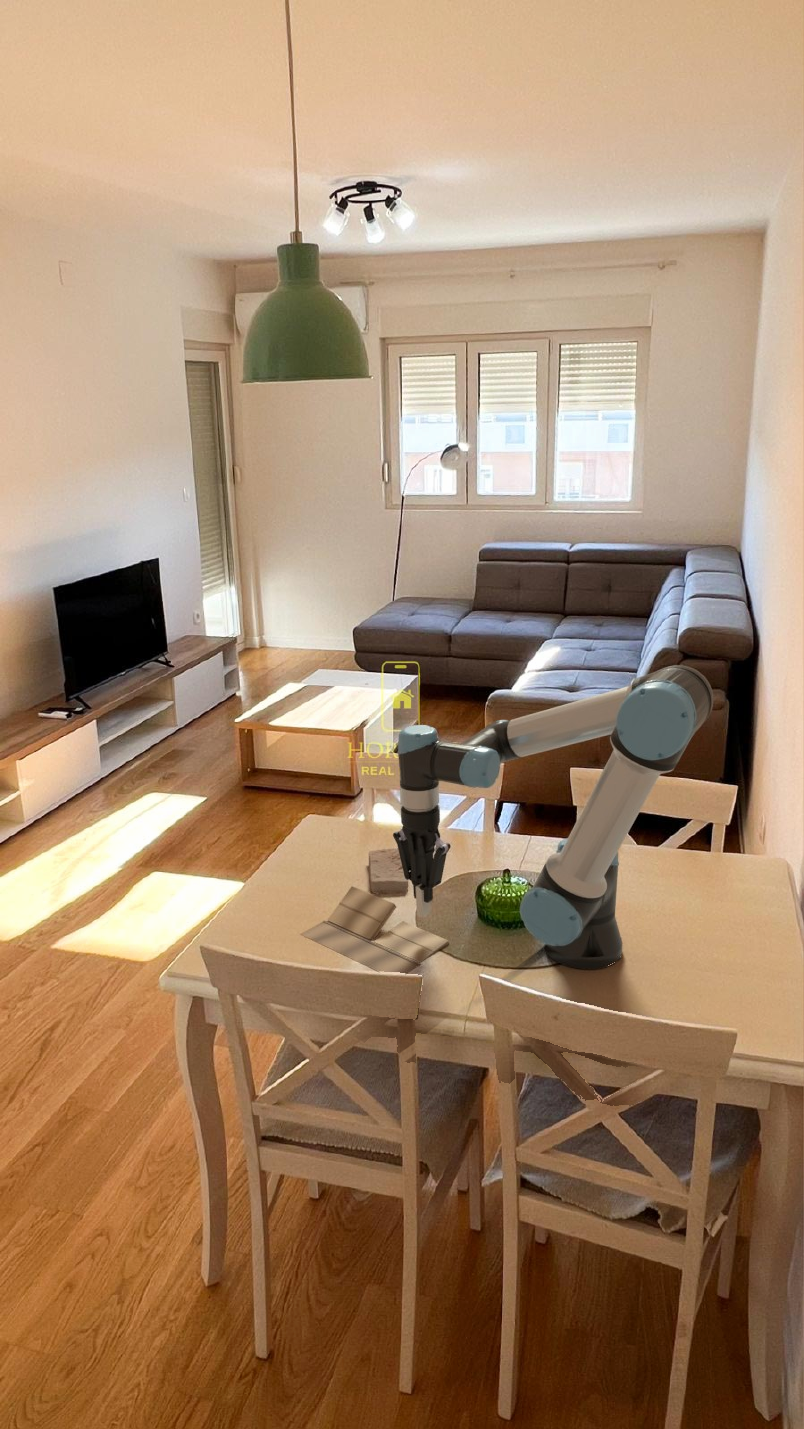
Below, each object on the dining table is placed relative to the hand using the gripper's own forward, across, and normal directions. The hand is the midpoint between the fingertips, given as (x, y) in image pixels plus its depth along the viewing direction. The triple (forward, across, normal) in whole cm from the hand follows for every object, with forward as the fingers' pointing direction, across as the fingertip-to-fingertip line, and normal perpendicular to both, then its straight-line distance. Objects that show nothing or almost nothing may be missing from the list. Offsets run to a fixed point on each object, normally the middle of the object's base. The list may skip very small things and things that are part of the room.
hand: (423, 914), depth 198 cm
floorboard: (+6, +7, +12) cm, 15 cm away
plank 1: (+3, +14, +3) cm, 15 cm away
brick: (+7, +24, -16) cm, 29 cm away
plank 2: (+6, +1, +3) cm, 7 cm away
